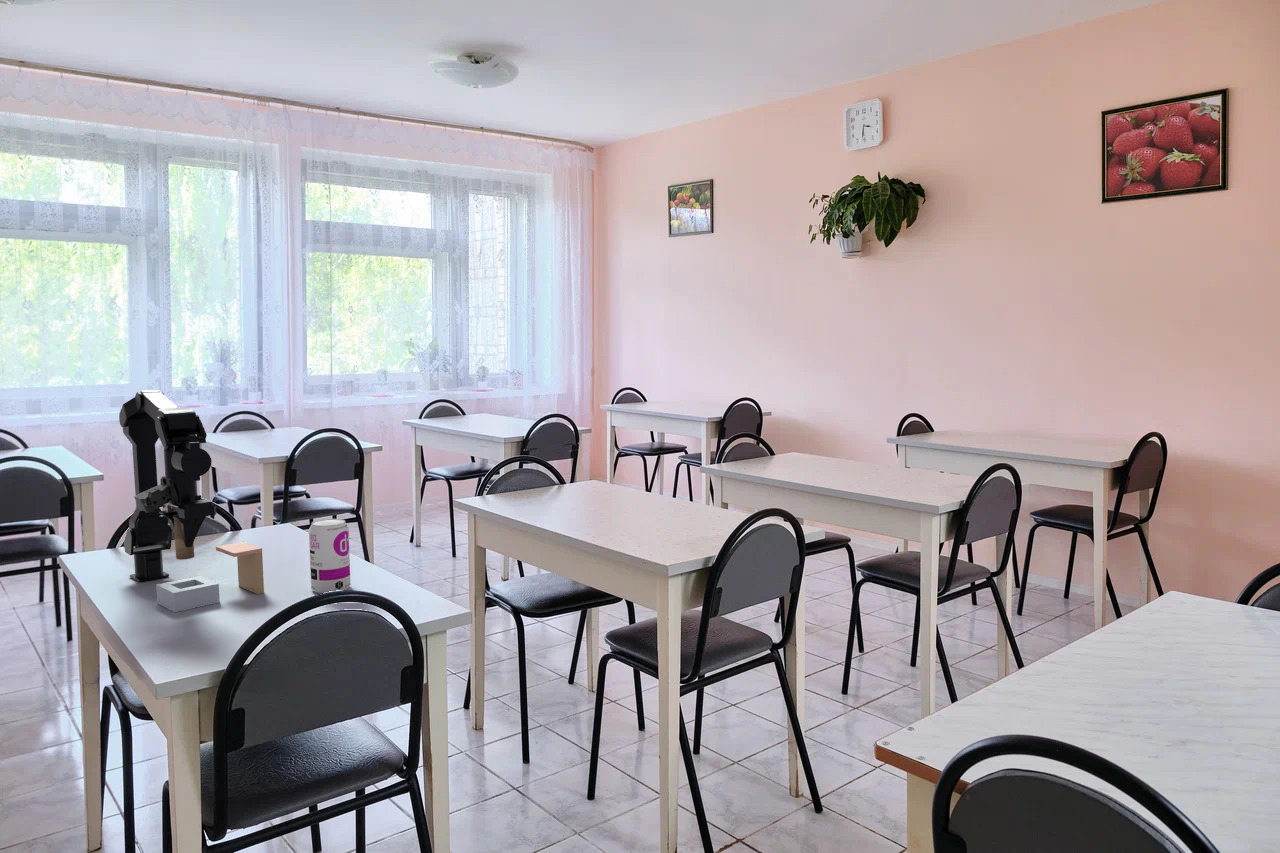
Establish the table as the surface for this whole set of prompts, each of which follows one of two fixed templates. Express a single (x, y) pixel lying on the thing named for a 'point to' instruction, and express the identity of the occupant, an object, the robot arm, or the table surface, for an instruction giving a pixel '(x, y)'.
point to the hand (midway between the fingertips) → (184, 545)
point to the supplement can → (329, 555)
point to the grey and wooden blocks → (207, 591)
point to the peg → (181, 543)
